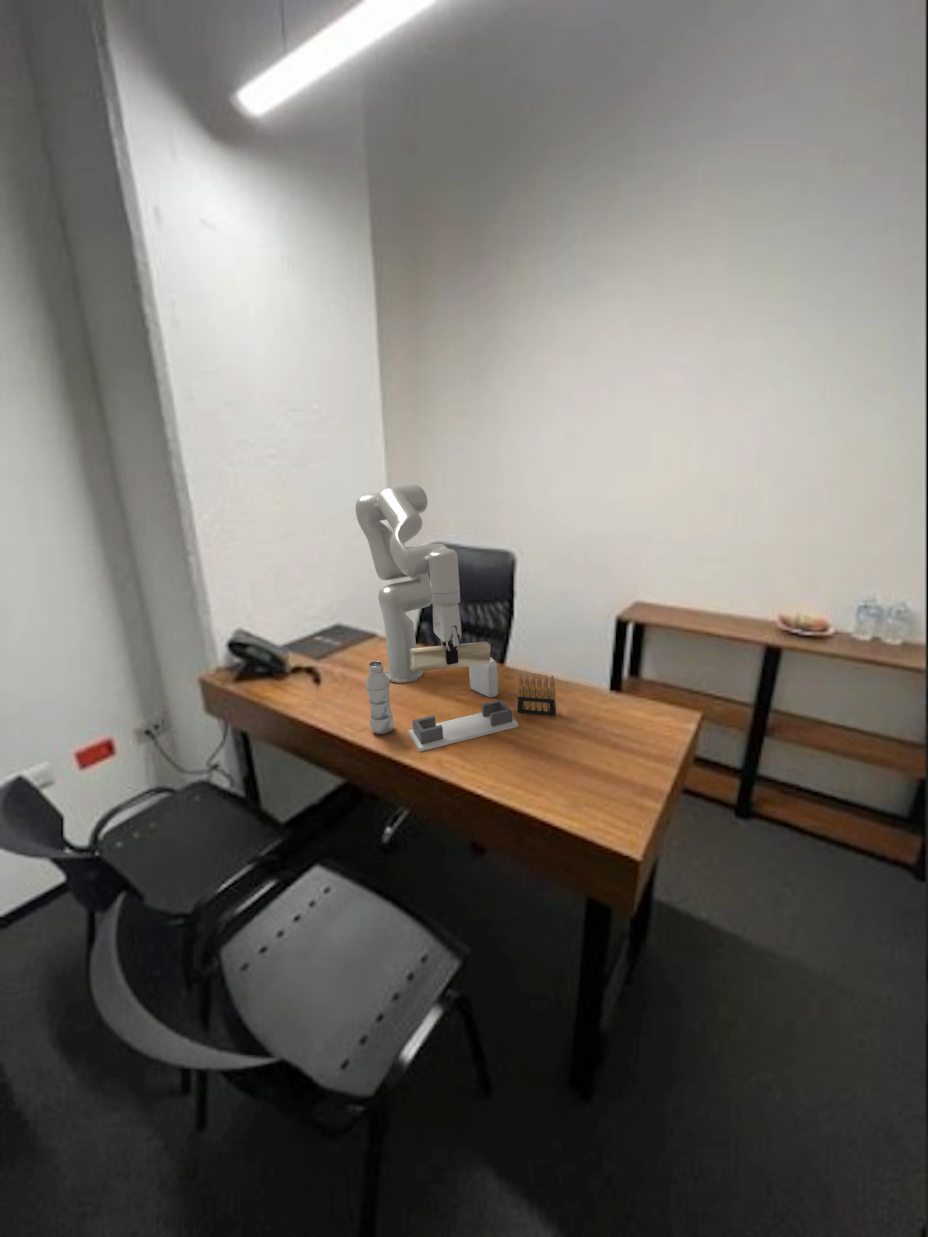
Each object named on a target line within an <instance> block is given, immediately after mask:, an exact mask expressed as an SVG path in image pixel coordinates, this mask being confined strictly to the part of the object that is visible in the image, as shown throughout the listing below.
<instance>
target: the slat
mask: <svg viewBox="0 0 928 1237" xmlns="http://www.w3.org/2000/svg"><path fill="white" fill-rule="evenodd" d="M446 651H447V646H446V645H444V646H441V645H435V646H425V647H416V648H413V649H410V668H411V670H412V671H413V672H419V671H423V672H427V671H434V670H435V671H436V670H443V669H444V670H446V669H452V668H453V669H454V668H462V667H463V668H464V667H469V666H473V665H482V664H490V657H491V644H490V643H489V642H487V641H478V642H477V641H476V642H468V643H459V646H458V663H455V664H450V665H448V664H447V662H446Z"/></svg>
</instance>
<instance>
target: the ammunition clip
mask: <svg viewBox="0 0 928 1237" xmlns="http://www.w3.org/2000/svg"><path fill="white" fill-rule="evenodd" d="M530 678H531V679H530V680H529V675H528V673H526V674H525V676H524V679H523V675H522V673H519V676H518V682H517V683H518V684H517V713H518V714H528V715H537V716H547V715H549V717H556V714H557V708H556V706H557V705H556V688H555V678H554V675H551V677H550V679H549V680H548V676H547V674H545V675H544V677H543V684H542V678H541V675H540V674H538V675H537V681H536V679H535V678H536V677H535V674H534V673H533V674H532V675H531V677H530Z"/></svg>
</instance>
